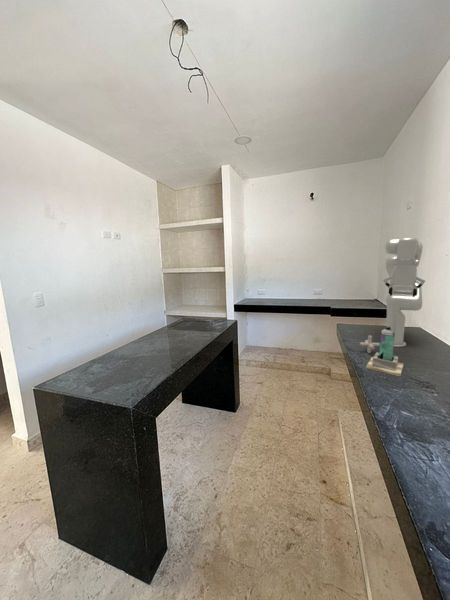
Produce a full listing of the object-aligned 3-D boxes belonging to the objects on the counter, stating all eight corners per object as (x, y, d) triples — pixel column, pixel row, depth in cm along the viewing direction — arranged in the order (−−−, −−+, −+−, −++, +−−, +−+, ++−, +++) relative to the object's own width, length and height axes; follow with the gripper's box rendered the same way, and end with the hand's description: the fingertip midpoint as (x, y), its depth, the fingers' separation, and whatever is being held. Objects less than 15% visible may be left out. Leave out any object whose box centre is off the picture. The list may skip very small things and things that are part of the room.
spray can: (390, 363, 124) (393, 325, 120) (392, 367, 119) (396, 328, 115) (377, 361, 126) (381, 324, 122) (379, 366, 121) (382, 327, 118)
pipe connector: (382, 356, 135) (383, 339, 133) (362, 355, 137) (363, 338, 135) (375, 349, 145) (376, 333, 143) (356, 348, 147) (357, 333, 145)
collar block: (371, 358, 132) (372, 349, 131) (403, 365, 123) (404, 356, 122) (366, 368, 122) (366, 358, 121) (400, 376, 113) (401, 366, 112)
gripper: (427, 262, 120) (423, 296, 123) (386, 262, 132) (383, 293, 135) (426, 263, 115) (423, 298, 118) (383, 263, 126) (381, 295, 129)
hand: (402, 296), depth 126 cm, fingers open, 9 cm apart
